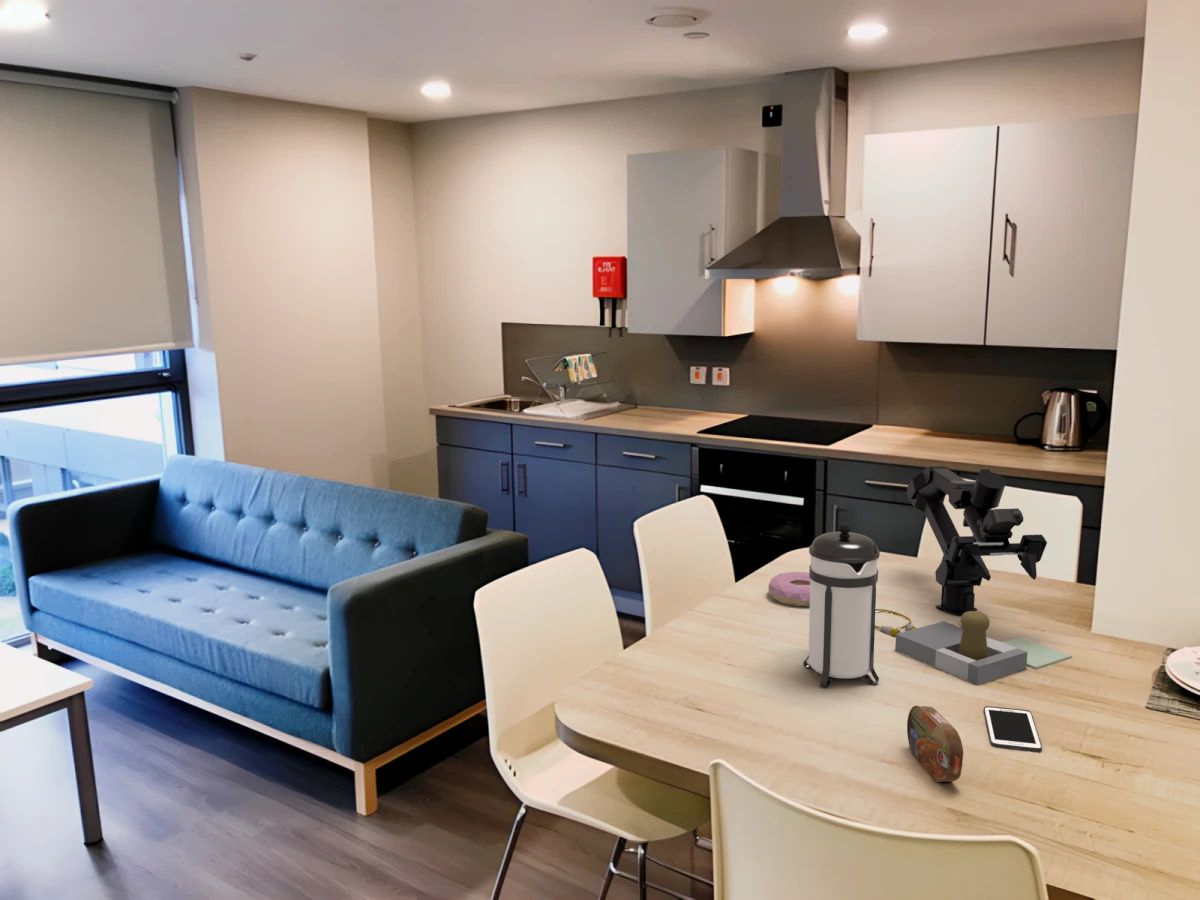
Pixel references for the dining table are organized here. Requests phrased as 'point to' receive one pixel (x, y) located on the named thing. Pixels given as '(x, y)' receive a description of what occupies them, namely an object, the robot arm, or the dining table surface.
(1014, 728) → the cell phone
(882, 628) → the gold chain necklace
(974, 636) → the cork
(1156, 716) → the dining table surface
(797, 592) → the donut
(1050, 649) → the mat
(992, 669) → the socket block
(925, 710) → the tin
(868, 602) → the coffee press
